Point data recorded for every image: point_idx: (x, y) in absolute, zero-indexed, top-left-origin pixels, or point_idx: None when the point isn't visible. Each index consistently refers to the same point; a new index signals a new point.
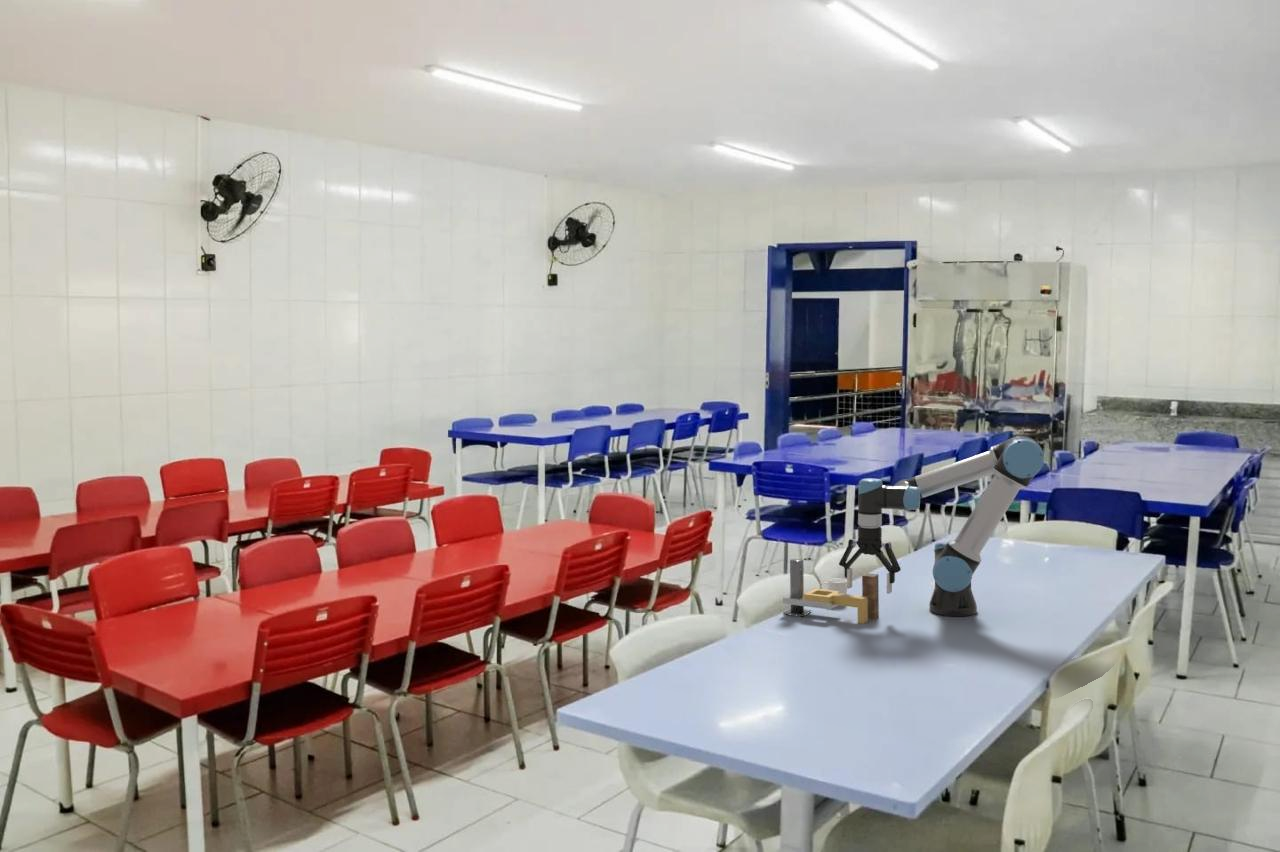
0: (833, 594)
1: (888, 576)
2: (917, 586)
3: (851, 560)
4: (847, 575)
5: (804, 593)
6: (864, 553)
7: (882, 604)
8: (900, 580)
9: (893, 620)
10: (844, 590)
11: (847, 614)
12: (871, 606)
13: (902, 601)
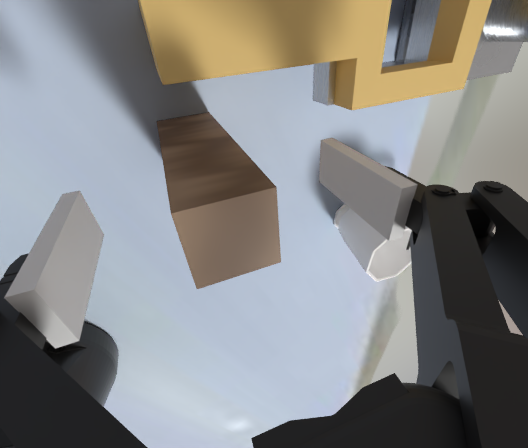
0: (367, 6)
1: (23, 275)
2: (257, 397)
3: (452, 240)
4: (378, 165)
5: (477, 72)
6: (396, 390)
7: (246, 281)
8: (299, 393)
9: (80, 156)
10: (355, 239)
11: (279, 121)
12: (173, 133)
13: (220, 328)
